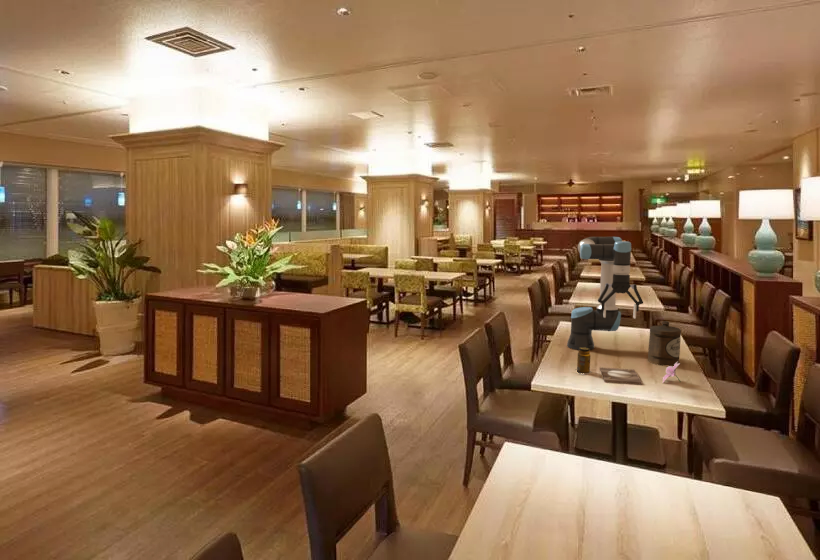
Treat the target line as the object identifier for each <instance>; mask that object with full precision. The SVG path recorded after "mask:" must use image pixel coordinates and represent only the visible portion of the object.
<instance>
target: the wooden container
mask: <svg viewBox="0 0 820 560" xmlns="http://www.w3.org/2000/svg"><path fill="white" fill-rule="evenodd" d="M661 324H662V325H652V326H650V328H649V338H648V340H649V341H648V350H647V351H648V352H647V361H648V362H650V363H651V364H654V365H657V364H658V366H663V365H669V366H670V365H671V366H672V365H674V364H675V363H676V362H677V361H678V362H677V364H678V363H680V355H681V336H682V330H681V328H679V327H676V326H671V325H669V324H670V322H669V321H667V320H663V321H662V322H661ZM672 367H673V366H672Z"/></svg>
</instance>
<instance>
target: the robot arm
mask: <svg viewBox="0 0 820 560" xmlns="http://www.w3.org/2000/svg"><path fill="white" fill-rule="evenodd" d="M577 251H578V253H579V258H580V259H582V260H598V262H600V264H601V265H600V266H601V267H600V283H599V284H600V287H599V288H600V289H599V297H598V299H597V303H599V305H597V306H596V309H595V310H594V309H593V307H589V306H583V307H575V308H573V309H572V311H571V314H570V315H571V316H570V322H571V323H570V334H569V337H568V340H567V342H566V347H567V346H568V347H567V348H569V349H571V348H572V349H571V350H576V349H577V350H576V351H579V348H580V347H586V348H589V349H590V351H592V350H594V349H595V342H594V340H593V333H592V332H593V331H601V332H616V331H618V330H619V328H620V324H621V320H622V319H621V317H622V312H621V311H619V308H618V306H617V305H616V302H617V299H616V298H617V294H627V295H628V296H629V298H631V300H632V301H633V302H634V304H633V314H632V315H633V316H632V317H633V319H635V320H636V318H637V312H639V311H640V310H639V309H640V305H643V304H644V301H643V299H642V297H641V295H640V293H639V291H638V286H637V284H635V283H634V284H630V278H631V274H630V273H631V258H632V257H631V256H632V243H631V242H630V241H625V240H624V241H623V239H622V238H621V237H619V236H589V237H586V238H583V239H582V240H580V241H579V242H578V245H577ZM630 288H631V289H632V290H633V291H634V293H635V296H636V297H637V299H636V297H634V295H633V294H632V293H631V292H630V290H629V289H630Z"/></svg>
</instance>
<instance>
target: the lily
mask: <svg viewBox="0 0 820 560" xmlns="http://www.w3.org/2000/svg"><path fill="white" fill-rule="evenodd" d="M677 362H678V361H677ZM677 362H676V363H675V364H674V366H666V368H665V374H664V376H662V382H661V383H662V384H663V383H664V382H665V381H666V380H667V379H668V378H669V377H676V378H677V379H678V381H679V382H681V379H680V378H679V377H678V376H677V375H676V374H677V371H676V368H678V367H679V365H680V364H681V362H679V363H678V364H677Z"/></svg>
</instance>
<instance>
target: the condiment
mask: <svg viewBox="0 0 820 560" xmlns="http://www.w3.org/2000/svg"><path fill="white" fill-rule="evenodd" d="M577 351H578V352H577V358H576V359H577V364H576V370H577V372H578V373H579V374H578V375H581V376H583V375H587V374H592V373H594V372H593V371H592V370H590V369H591V352H590V351H591V350H590V349H589V348H586V347H580V348H579V350H577ZM581 373H582V374H581ZM583 373H584V374H583Z"/></svg>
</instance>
